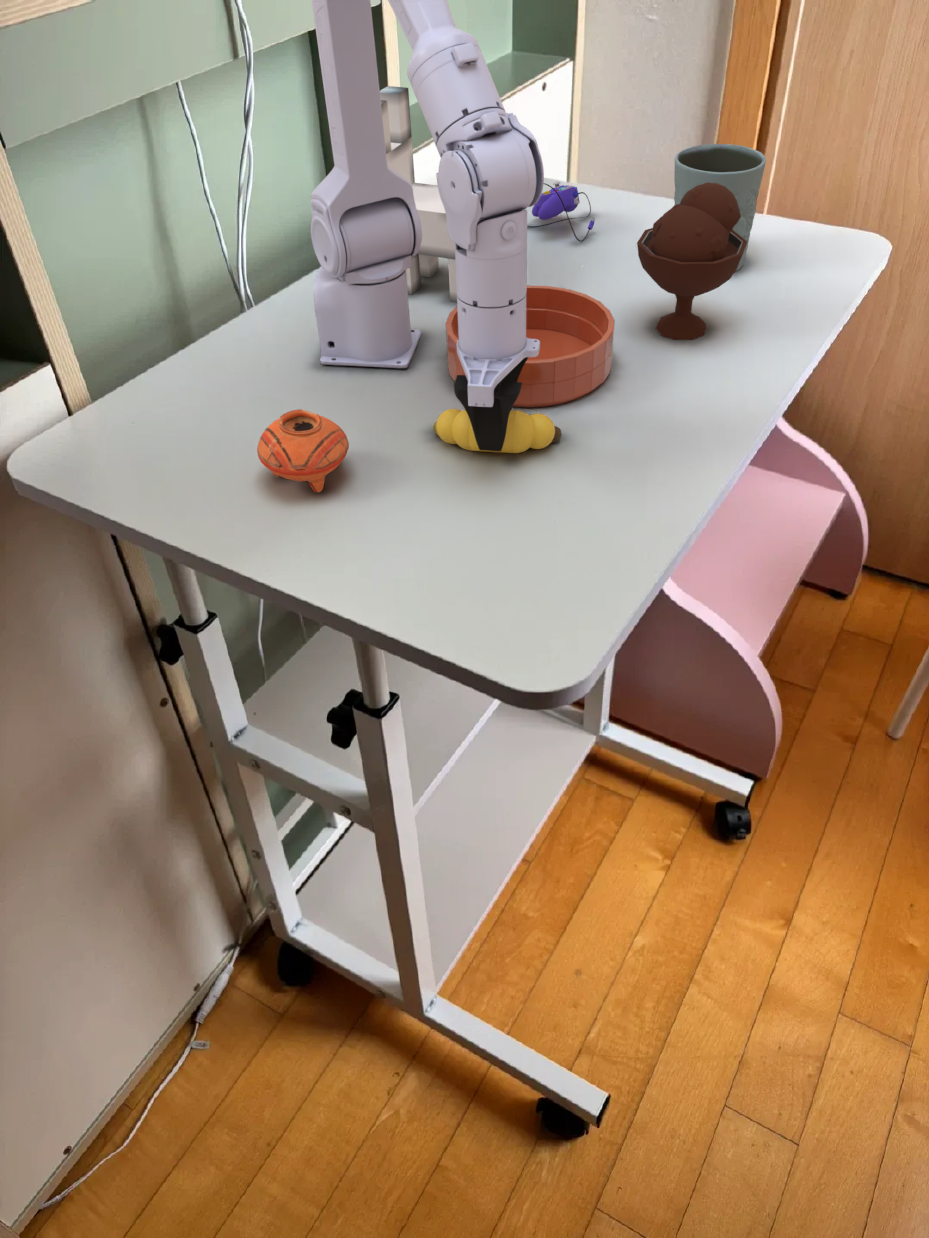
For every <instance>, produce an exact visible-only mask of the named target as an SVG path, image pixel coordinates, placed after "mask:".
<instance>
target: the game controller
mask: <svg viewBox="0 0 929 1238" xmlns="http://www.w3.org/2000/svg"><path fill="white" fill-rule="evenodd" d="M561 183H562V182H561V181H555V182H554V183H552V185H549V184H547V183H545V182H544V184H543V185H544V186H547V187H549V188H551V189H549V190H546V191H542V194H541V196H540V199H539V200H538V202H537V203H536V204H535V205H533V206H532V207H531V208H532V209H531V214H532V216H533V217H535V218H538V219H539V220H542V221H548V220H550V219H553V218H556V217H558V216H559V215H561V214H562V213H563V212H565V214H566V217H567V218H564V219H561V220H557V221H553V222H550V223H545V224H542V225H541V224H540V225H535V226H534V225H533V226H532V225H527V228H540V227H541V228H542V227H544V226H545V227H546V226H549V225H552V224H557V223H560V222H563V221H567V220H568V223H569V225H570V228H571V231H572V233H573V235H574V237H575V239H576V240H577V241H578V242H583V241H584V240H585V239H586V238H587V236H588V235H589V233H590V231H592V230H593V228H594V226H595V221H596V218H595V217H592V218H591V220H590V222H589V224H588V226H587V229H588V230H587V233H586V234H585V237H584V238H583V239H581V240H580V239H579V238H578V237H577V235H576V233H575V231H574V228H573V226H572V223H571V220H575V219H576V217H571V218H569V217H570V216H569V214H568V213H571V212H573V211H574V210H576V209H577V208H578V206H579V205H580V203H581V202H580V196H579V195H580V194H583V195H584V196H585V197H586V199H587V201H588V205H589V213H588V214H587V215H586V216H580V217H579V219H583V218H587V217H589V216H590V215H591V212H592V206H591V202H590V200H589V197H588V195H587V194H586V193H585V192H584V191H580V192H579V190H578V186H574V185H572V184H571V185H569V184H568V185H560V184H561ZM553 186H554V187H553Z"/></svg>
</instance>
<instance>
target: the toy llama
mask: <svg viewBox="0 0 929 1238" xmlns="http://www.w3.org/2000/svg"><path fill="white" fill-rule="evenodd" d="M380 99H381V109H382V118H383V128H384V138H385V147H386V157H387V166H388V167H390V168H391V169H393V170H395V171H397V172H398V173H400V174H401V175H403V176H404V177H405V178H406V179H407V180H408V181H409V182H410V184H411V185H412V189H413V195H414V201H415V205H416V209H417V211H418V214H419V217H420V221H421V226H422V241H421V245H420V248H419V251H418V253H417V254H416V255H415V256H413V257H411V260H412V267H411V268H408V269H406V276H407V289H408V295H411V296H412V295H414V293H416V292H417V290H418V289H420V288H421V287H422V280H421V277H423V278H431V277H432V276H433V275H435V274H436V273H437V272H438V271H439V270H440V265H439V259H447V262H448V265H447V266H448V283H449V284H448V285H449V302H453V303H457V285H456V262H455V242H454V241H452V240H451V239H450V237H449V232H448V231H447V219H446V213H445V209H444V206H443V203H442V201H441V198H440V194H439V190H438V185H436V184H428V183H422V182H416V181H415V180H416V178H415V164H414V150H413V137H412V135H413V134H412V120H411V107H410V106H411V105H410V92H409V87H405V86H395V85H394V86H393V85H392V86H391V85H387V86H385V87H383V88H382V89H380Z"/></svg>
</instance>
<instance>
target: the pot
mask: <svg viewBox="0 0 929 1238" xmlns="http://www.w3.org/2000/svg"><path fill="white" fill-rule="evenodd" d="M349 449H350V443H349V439H348V437H347V434H346V433H345V431H344V430H343V428H342V427H340V426H339V424H337V423H336V422H334V421H333V420H331V419H329V418H327V417H325V416H323V415H320V414H318V413H315V412H311V411H308V410H305V409H301V408H300V409H299V408H298V409H294V410H293V409H292V410H290V411H287V412H285V413H283V414H281V415H280V416H279V418H278V419H276V420H275V421H272V423H270V424H269V425H268V426H267V427H266V428H265V429H264V430H263V432H262V433H261V435H260V437H259V440H258V443H257V447H256V451H257V452H256V453H257V456H258V459H259V461H260V463H261V464H262V465H263V466H264V467H265V468H266V469H268V470H269V471H270V472H271V473H272V475H274V476H275V477H277V478H279V477H281V478H284V479H286V480H290V481H295V482H306V481H307V482H308V484H309V486H310V487H311V489H312V491H313V492H314V493H315V494H316V493H321V492H322V491H323V490H324V485H325V479H326V476H327V475H328V474H330V473H331V472H333V471H334V470H336V469H337V467H339V466H340V464H341V463H342V462H343V461H344V459H345V458H346V456H347V453H348V451H349Z"/></svg>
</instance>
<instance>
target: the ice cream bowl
mask: <svg viewBox="0 0 929 1238" xmlns="http://www.w3.org/2000/svg"><path fill="white" fill-rule="evenodd" d="M740 218H741V215H740V210H739V207H738V202H737V200H736V198H735V196H734V194H733V193H732V192H731V191H730V190H729V189H728V188H726V187H725V186H722V185H720V184H717V183H709V182H707V183H704V184H701V185H697V186H696V187H694V188H692V189H691V190H689V191H687V193H686V194H685V195H684V196H683V198H682V200H681V202H680V204H676V205H675V204H674V205H673V206H672V207H671V208H670V209H668V210H667V211H666V212H664V213H663V214H662V215H661V216H660V217H659V218H658V219H657V220H656V221H655V222H653V223H652V224H653V225H652V227H650V228H647V229H644V231H643V233H642V234H641V236H640V237H639V239H638V241H637V242H636V245H637V255H638V260H639V262H640V264H641V267H642V269H643V270H644V271H645V273H646V274H647V275H648V277H650V278H651V280H652V281H654V282H655V283H656V285H657V286H658V287H659V288H661V289H662V290H664V291H665V292H667V293H668V294H672V295H674V296H675V299H676V302H675V308H674V311H673V312H671V313H668V314H664V315H663V316H660V317H659V319H658V321H657V323H656V325H655V330H656V331H657V332H658V334H659V335H660V336H661V337H665V338H668V339H671V340H674V341H692V340H695V339H698V338H700V337H703V336H705V334H706V331H707V329H708V327H707V323H706V322H705V321H704V320H703V319H702V318H701V317H700V316H699V315H696V314H695V313H693V311H692V310H693V301H694V299H695V297H698V296H701V295H704V294H707V293H710V292H712V291H713V290H717V289H718V288H720V287H721V286H722V285H724V284H725V283H727V282H728V281H729V280H731V278H732V277H733V275H734V273H736V272H737V271H736V269H737V267H738V265H739V262H740V260H741V258H742V255H743V253H744V250H745V247H746V245H747V241H746V240H745V239H744V238H742V237H741V236H740V235H739V234H738V233H736V232H735V231H734V230H733V227H734V226H735V224H737V222H738V221H739V219H740Z"/></svg>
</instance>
